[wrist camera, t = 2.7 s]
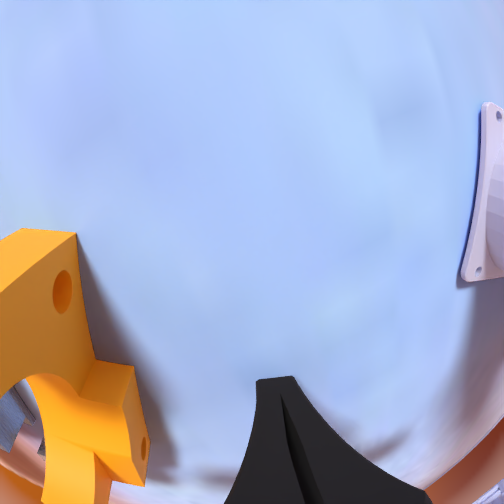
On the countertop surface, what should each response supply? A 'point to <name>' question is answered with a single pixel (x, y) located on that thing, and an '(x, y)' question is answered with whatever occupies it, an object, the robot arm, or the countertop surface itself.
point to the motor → (15, 421)
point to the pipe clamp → (67, 372)
